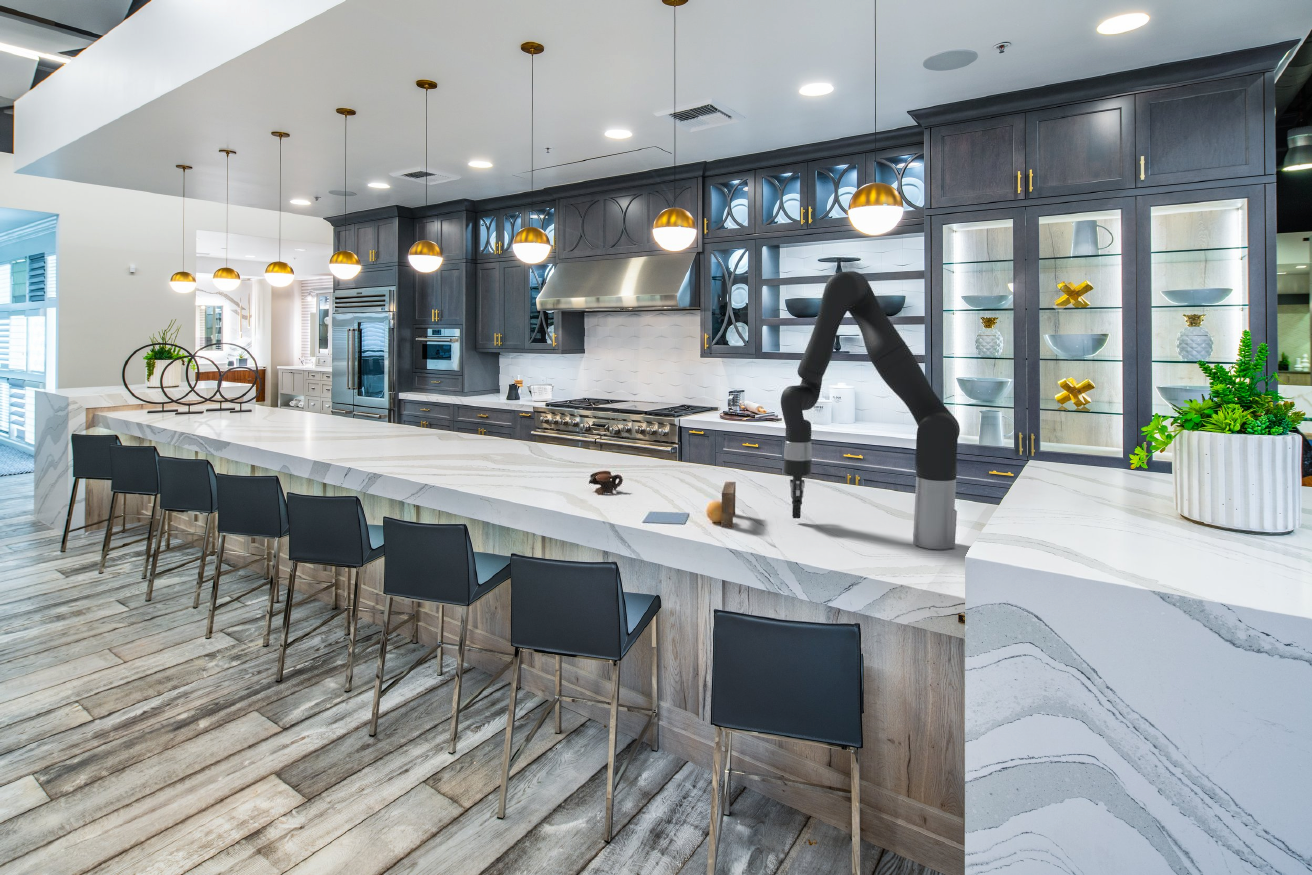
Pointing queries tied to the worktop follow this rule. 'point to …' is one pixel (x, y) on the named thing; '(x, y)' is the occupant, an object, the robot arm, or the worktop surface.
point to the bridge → (728, 504)
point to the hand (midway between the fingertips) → (796, 517)
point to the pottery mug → (605, 481)
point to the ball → (715, 511)
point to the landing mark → (666, 517)
